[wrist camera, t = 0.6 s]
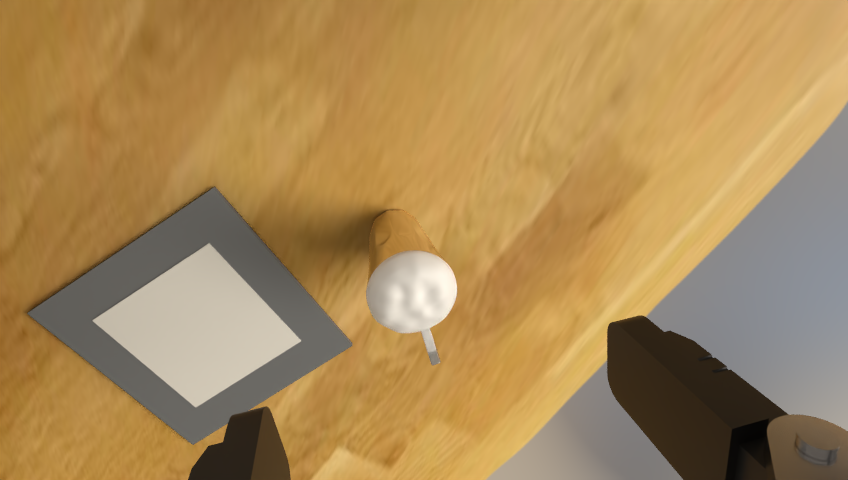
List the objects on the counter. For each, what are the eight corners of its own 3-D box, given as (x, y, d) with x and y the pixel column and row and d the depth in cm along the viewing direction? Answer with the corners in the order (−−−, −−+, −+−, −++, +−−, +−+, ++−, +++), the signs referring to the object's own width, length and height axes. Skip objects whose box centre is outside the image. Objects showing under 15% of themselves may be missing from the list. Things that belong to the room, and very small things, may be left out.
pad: (214, 186, 28) (213, 188, 28) (352, 343, 34) (352, 346, 34) (29, 310, 29) (26, 314, 29) (194, 441, 35) (192, 445, 35)
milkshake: (376, 282, 32) (391, 379, 23) (349, 212, 30) (355, 289, 21) (440, 261, 32) (479, 349, 23) (418, 189, 30) (452, 256, 21)
